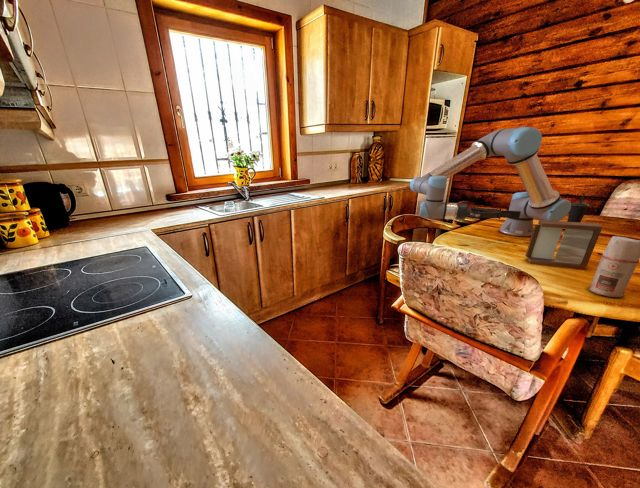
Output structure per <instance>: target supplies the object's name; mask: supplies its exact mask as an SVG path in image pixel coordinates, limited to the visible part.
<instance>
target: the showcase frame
mask: <svg viewBox="0 0 640 488" xmlns="http://www.w3.org/2000/svg"><path fill="white" fill-rule="evenodd" d="M537 222H538V223H537V225H540V226H541V227H553V228H563V229H564V231H563V233H562V237H561V240H560V241H559V245H558V248H557V251H556V255H555V257H554V258H552V259H545V258H535V257H526V261H527V262H528V264H531V265H541V266H550V267H558V268H559V267H560V268H569V269H579V270H586V269H587V267H588V264H589V262H590V259H591V256H592V254H593V252H594V249H595V247H596V245H597V242H598V240H599V237H600V235H601V233H602V230H603V228H604V226H603V225H600V224H599V223H596V222H580V223H579V222H567V221H541V220H538V221H537Z"/></svg>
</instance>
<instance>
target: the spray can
mask: <svg viewBox="0 0 640 488" xmlns="http://www.w3.org/2000/svg"><path fill="white" fill-rule="evenodd" d="M639 262H640V239H633V238H630V237H625V236H619V235H613V236H612V237H611V238H610V240H609V241H608V244H607V245H606V247H605V249H604V250H603V252H602V255H601V258H600V260H599V263H598V265H597V267H596V270H595V273H594V276H593V278H592V281H591V284H590V287H589V288H588V290H589V291H590V292H592V293H594V294H596V295H601V296H605V297H608V298H622V297H624V296H625V295H624V293H625V292H626V290H627V288H628V285H629V283H630V281H631V279H632V276H633V274H634V272H635V270H636V268H637V266H638V265H639Z"/></svg>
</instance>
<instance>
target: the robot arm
mask: <svg viewBox="0 0 640 488" xmlns="http://www.w3.org/2000/svg"><path fill="white" fill-rule="evenodd" d="M542 142H543V135H542V133H541V131H540V130H539V129H538V128H536V127H532V126H520V127H511V128H500V129H496V130H495V131H494V130H493V131H492V132H490V133H488V134H486V135H485V136H483V137H481V138H479V139H477V140H476V141H474V142H473V143H472V144H471V145H470V147H468V148H467V149H465V150H463V151H462V152H460V153H459V154H457V155H455V156H453V157H452V158H450V159H449V160H447V161H445V162H444V163H441V164H440V165H438V166H437V167H436V168H434V169H432V170H431V171H429V172H427V173H426V174H424V175H423V176H416V177H413V178H412V179H411V181H410V182H409V189H410V191H412V192H414V193H415V194H421V195H423V196H425V201H421V203H420V206H419V207H420V208H419V217H420V218H426V219H437V220H438V219H441V220H442V219H443V220H446V221H449V220H454V219H455V220H456V221H465V220H466V217H469V218H472V219H473V218H474V219H498V220H501V218H505V220H504V221H503V223H502V225H501V226H500V228H499V231H498V232H499V233H501V234H504V235H507V236H511V237H519V238H526V237H527V238H529V237H531V236H532V233H533V230H534V227H535V226H534V219H535V220H538V221H539V220H541V221H560V222H562V221H563V219H565V218H566V217H568V215H569V212H570V209H571V204H572V202H571V201H570V200H567V199H565V198H562V197H561V195H560V192H559V191H558V190H555V189H553V187H552V185H551V183H550V181H549V178H548V176H547V174H546V172H545V169H544V168H543V165H542V163H541V160H540V158H539V156H538V153H539V152H540V148H541V146H542ZM494 156H503V157H504V158H505V161H506V162H507V163H508V164H509V165H513V166H514V168H515V171H516V173H517V175H518V176H519V178H520V181H521V183H522V185H523V187H524V189H525V191H520V192H519V191H518V192H515V193H514V194H513V195H512V197H511V199H510V204H509V207H508V210H506V209H505V210H503V209H502V208H488V207H487V208H486V207H478V206H471V207H469V206H468V203H465V202H463V203H462V202H459V203H457V202H444V199H445V196H446V189H447V186H448V183H447V182H448V179H450V177H451V178H452V177H453V176H454V175H456V174H458V173H459V172H461V171H463V170H465V169H466V168H468V167H470V166H471V165H473V164H474V163H476V162H479V161H483V160H485V159H487V158H490V157H494Z"/></svg>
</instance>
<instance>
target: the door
mask: <svg viewBox="0 0 640 488" xmlns="http://www.w3.org/2000/svg"><path fill="white" fill-rule="evenodd" d="M533 227H534V230H533V233H532V236H530V239H529V242H528V246H527V248H526V252H525V258H527V257H535V258H545V259H554V255H555V253H556V249H557V247H558V244H559V242H560V238H561V236H562V234H563V229H564V228H553V227H541V226H540V225H539V224H534V226H533Z"/></svg>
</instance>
